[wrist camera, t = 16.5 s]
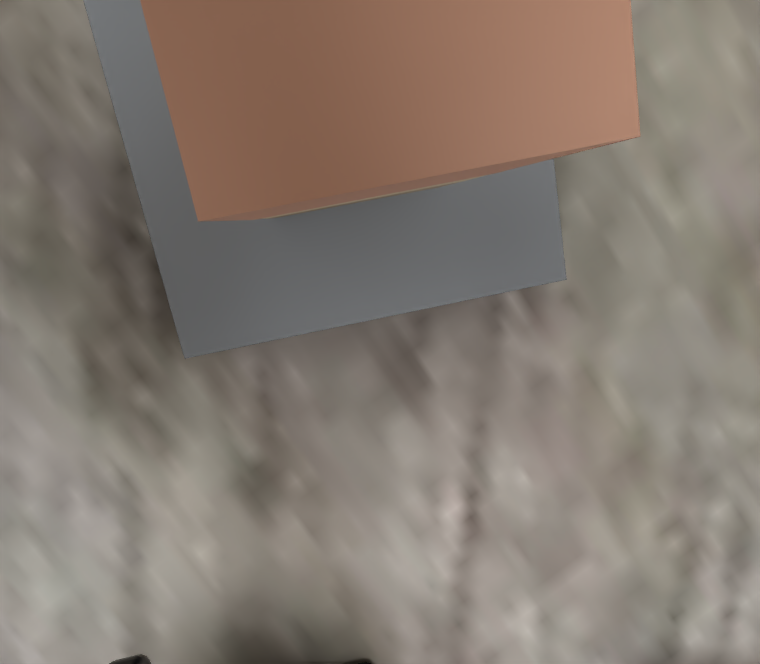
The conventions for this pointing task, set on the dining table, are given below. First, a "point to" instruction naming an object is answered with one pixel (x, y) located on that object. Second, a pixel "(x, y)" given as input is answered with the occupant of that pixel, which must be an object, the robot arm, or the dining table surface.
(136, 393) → the dining table surface
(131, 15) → the slate board
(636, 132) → the terracotta cube
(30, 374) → the dining table surface
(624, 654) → the dining table surface
